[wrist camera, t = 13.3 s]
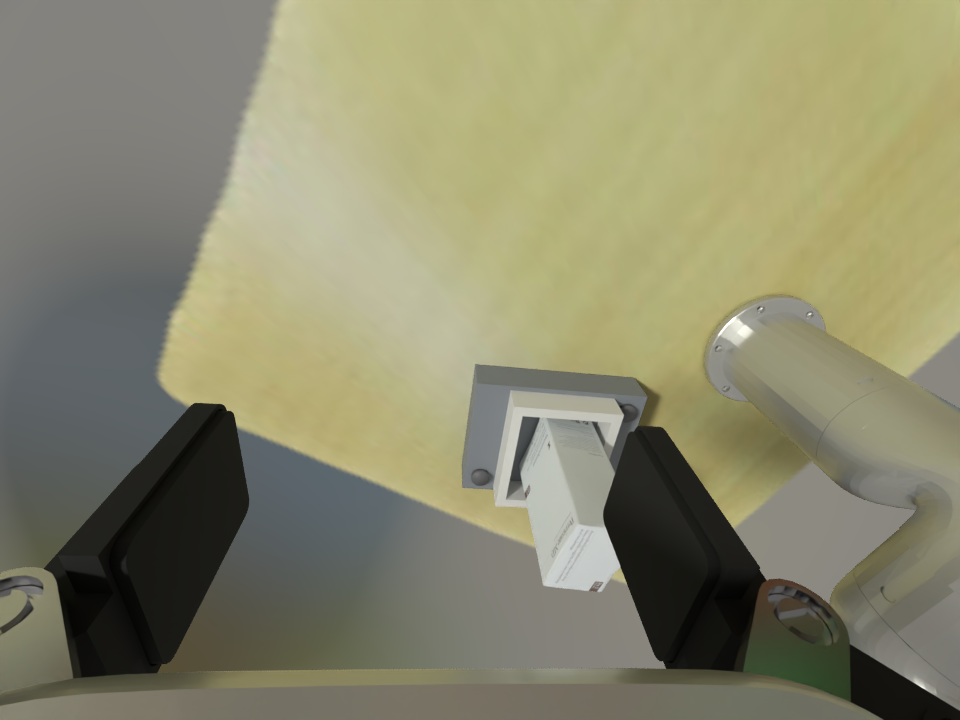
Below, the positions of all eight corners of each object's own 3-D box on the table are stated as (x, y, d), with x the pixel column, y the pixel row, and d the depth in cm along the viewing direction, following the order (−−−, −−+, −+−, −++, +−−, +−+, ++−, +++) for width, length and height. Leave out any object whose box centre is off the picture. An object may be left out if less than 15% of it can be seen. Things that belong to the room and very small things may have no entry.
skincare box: (542, 407, 47) (576, 518, 34) (594, 419, 48) (647, 531, 35) (516, 468, 51) (538, 589, 38) (566, 477, 52) (604, 598, 39)
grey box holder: (634, 377, 51) (659, 413, 45) (603, 473, 57) (621, 515, 51) (475, 364, 49) (478, 399, 43) (461, 464, 55) (462, 507, 49)
